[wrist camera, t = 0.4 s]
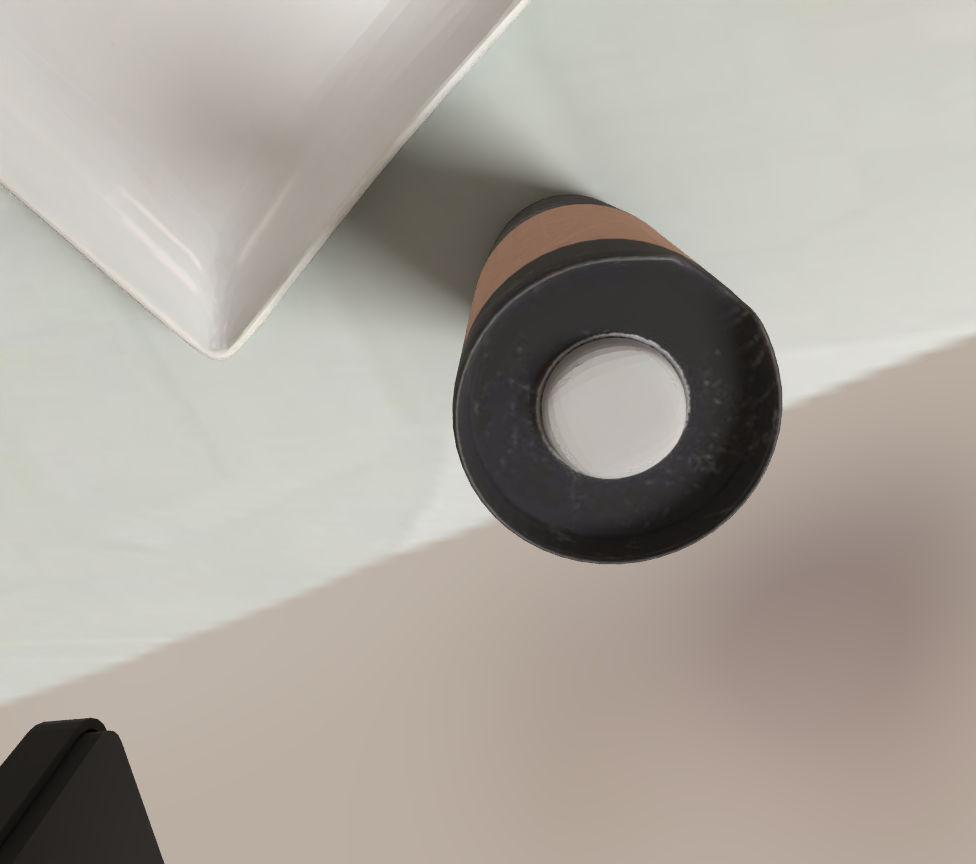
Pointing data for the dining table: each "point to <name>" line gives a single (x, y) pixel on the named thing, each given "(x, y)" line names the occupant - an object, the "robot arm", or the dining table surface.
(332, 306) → the dining table surface
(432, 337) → the dining table surface
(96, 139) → the square plate
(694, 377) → the travel mug
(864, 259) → the dining table surface
